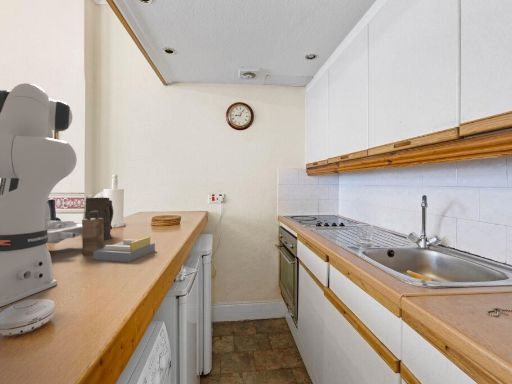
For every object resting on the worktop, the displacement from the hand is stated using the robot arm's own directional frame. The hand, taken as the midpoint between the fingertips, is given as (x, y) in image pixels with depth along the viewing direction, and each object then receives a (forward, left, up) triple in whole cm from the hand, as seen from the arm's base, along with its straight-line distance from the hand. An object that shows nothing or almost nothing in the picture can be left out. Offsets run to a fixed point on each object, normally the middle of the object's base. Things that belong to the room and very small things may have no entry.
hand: (83, 233), depth 109 cm
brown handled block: (-1, -4, -7) cm, 8 cm away
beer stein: (+27, +9, -8) cm, 30 cm away
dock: (-3, -18, -7) cm, 19 cm away
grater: (+39, +19, -8) cm, 44 cm away
